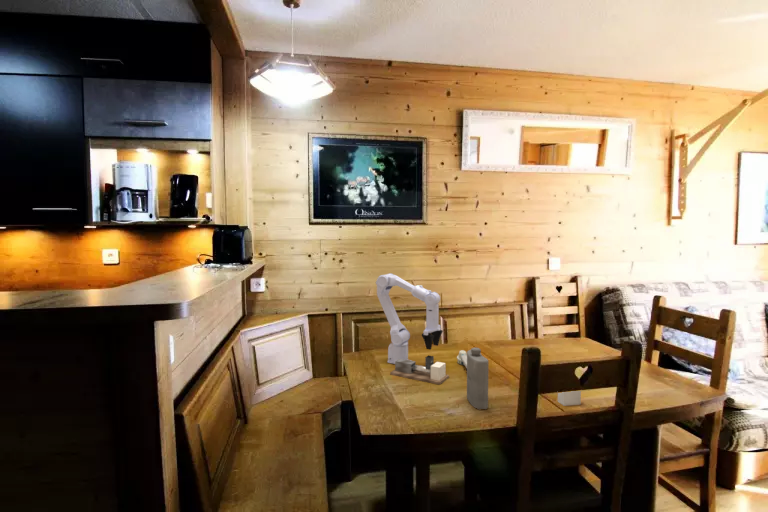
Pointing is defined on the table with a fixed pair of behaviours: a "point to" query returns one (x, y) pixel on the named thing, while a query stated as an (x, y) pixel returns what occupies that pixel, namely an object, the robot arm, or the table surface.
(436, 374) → the socket block
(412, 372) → the track base
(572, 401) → the light grey block
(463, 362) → the toothbrush head
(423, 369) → the dark grey angular piece
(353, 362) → the table surface
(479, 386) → the flask
